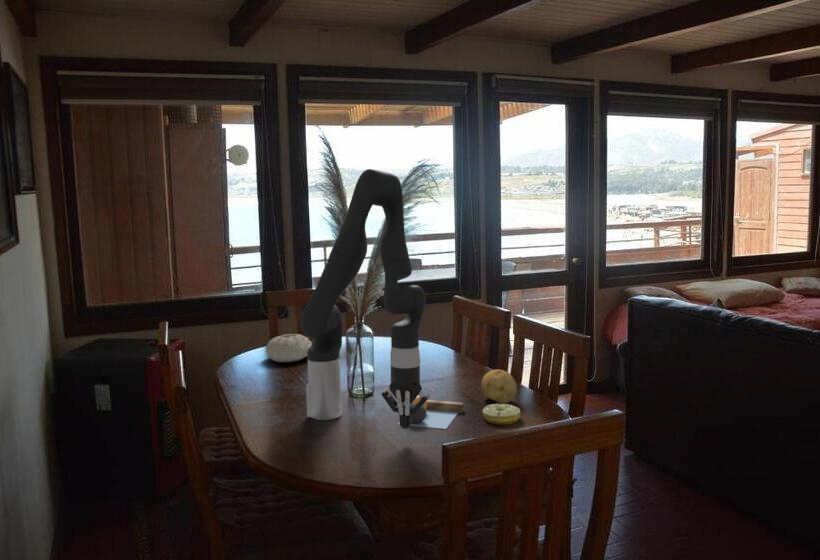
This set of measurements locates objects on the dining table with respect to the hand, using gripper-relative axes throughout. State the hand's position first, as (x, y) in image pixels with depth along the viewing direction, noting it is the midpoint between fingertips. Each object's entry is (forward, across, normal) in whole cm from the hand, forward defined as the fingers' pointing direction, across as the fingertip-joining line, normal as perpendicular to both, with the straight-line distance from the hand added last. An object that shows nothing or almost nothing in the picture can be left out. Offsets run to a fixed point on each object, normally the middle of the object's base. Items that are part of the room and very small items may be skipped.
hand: (405, 427), depth 173 cm
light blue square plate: (+4, 0, +18) cm, 19 cm away
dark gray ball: (+1, -2, +14) cm, 14 cm away
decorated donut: (+4, +20, +24) cm, 31 cm away
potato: (+4, +16, +39) cm, 42 cm away
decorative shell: (+5, -72, +67) cm, 99 cm away
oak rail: (+4, 0, +26) cm, 27 cm away
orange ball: (+1, -4, +22) cm, 22 cm away
